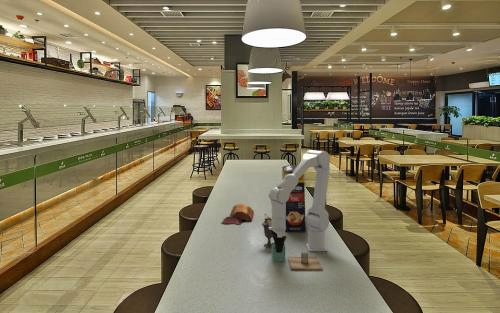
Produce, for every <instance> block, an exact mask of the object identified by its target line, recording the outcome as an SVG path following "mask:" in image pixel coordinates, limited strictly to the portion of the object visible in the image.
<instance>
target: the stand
mask: <svg viewBox="0 0 500 313" xmlns="http://www.w3.org/2000/svg"><path fill="white" fill-rule="evenodd" d="M287 260H288V263H289V267H290V270H291V271H293V272H294V271H324V270H323V269H324V268H323V266H322V264H321V262H320V260H319V258H318V256H309V251H305V250H304V251H301V254H300V256H287Z"/></svg>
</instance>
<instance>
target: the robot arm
mask: <svg viewBox="0 0 500 313" xmlns="http://www.w3.org/2000/svg"><path fill="white" fill-rule="evenodd" d="M331 158H332V157H331V155H330V154H329V153H328V151H326V150H315V149H314V150H313V149H308V150H307V151H305V153H304V154H303V155H302V160H300V162H299V164H298V165H297V167H296V169H295V170H294V171H293V173H292V174H288V175H286V176H285V177H284V179H283V180H281V181H280V183H279V184H277V185H276V187H273V188H272V189H271V190H270V191H269V194H268V198H269V199H270V204H271V219H272V227H269V230H271V231H272V234H273V235H272V239H273V241H274V242H273V243H275V247H276V252H277V253H282V249H283V245H284V244H285V242H286V240H287V235H284V233H285V232H286V231H285V230H286V227H285V226H286V201H288V199H289V195H290V193H291V191H292V190H293V189H294V188H295V186H296V185H297V184H298V179H299V178H300V177H301V176H302V175H303V174H304V175H305V173H306V172H307V171H308V170H309V169H310V168H313V169H314V170H315V172H316V176H315V184H314V191H313V196H312V197H313V198H312V206H311V207H310V208H308V209H307V213H306V214H305V223H306V227H307V228H308V230H307V243H305V246H306V248H307V250H308V252H327V251H328V249H327V247H326V244H325V243H326V231H327V229H328V228H329V225H330V219H329V217H330V216H329V213H328V211H327V209H326V201H327V193H328V192H327V191H328V186H329V178H330V169H331V168H330V164H331Z"/></svg>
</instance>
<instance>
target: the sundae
mask: <svg viewBox="0 0 500 313" xmlns="http://www.w3.org/2000/svg"><path fill="white" fill-rule="evenodd" d="M264 216H265V218H264V221H263V222H262V224H261V226H262V227H263V232H264V236H265V238H266V239H267V243H265V244H263V247H265V248H270V249H271V248H272V242H271V240H272V239H273V237H272V235H273V234H272V231H271V230H269V227H272V217H271V218H270V217H269V216H268V215H267V214H266V213H264Z"/></svg>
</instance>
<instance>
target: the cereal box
mask: <svg viewBox="0 0 500 313" xmlns="http://www.w3.org/2000/svg"><path fill="white" fill-rule="evenodd" d="M297 166H298V165H295V164H292V165H291V164H290V165H289V164H288V165H285V166H282V167H281V175H282V176H281V177H282V178H281V179H282V180H283V179H284V177H285V176H286V175H288V174H292V173H293V171H294V170H295V169H296V167H297ZM282 180H281V181H282ZM305 186H306V185H305V173H304V174H303V175H302V176H301V177H300V178H299V179H298V184H297V185H296V186H295V188H294V189H293V190H292V191H291V193H290V195H289V199H288V201H286V226H285V227H286V230H285V231H284V232H285V233H286V232H287V233H306V232H307V225H306V223H305V217H306V191H305V189H306V188H305Z"/></svg>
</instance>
